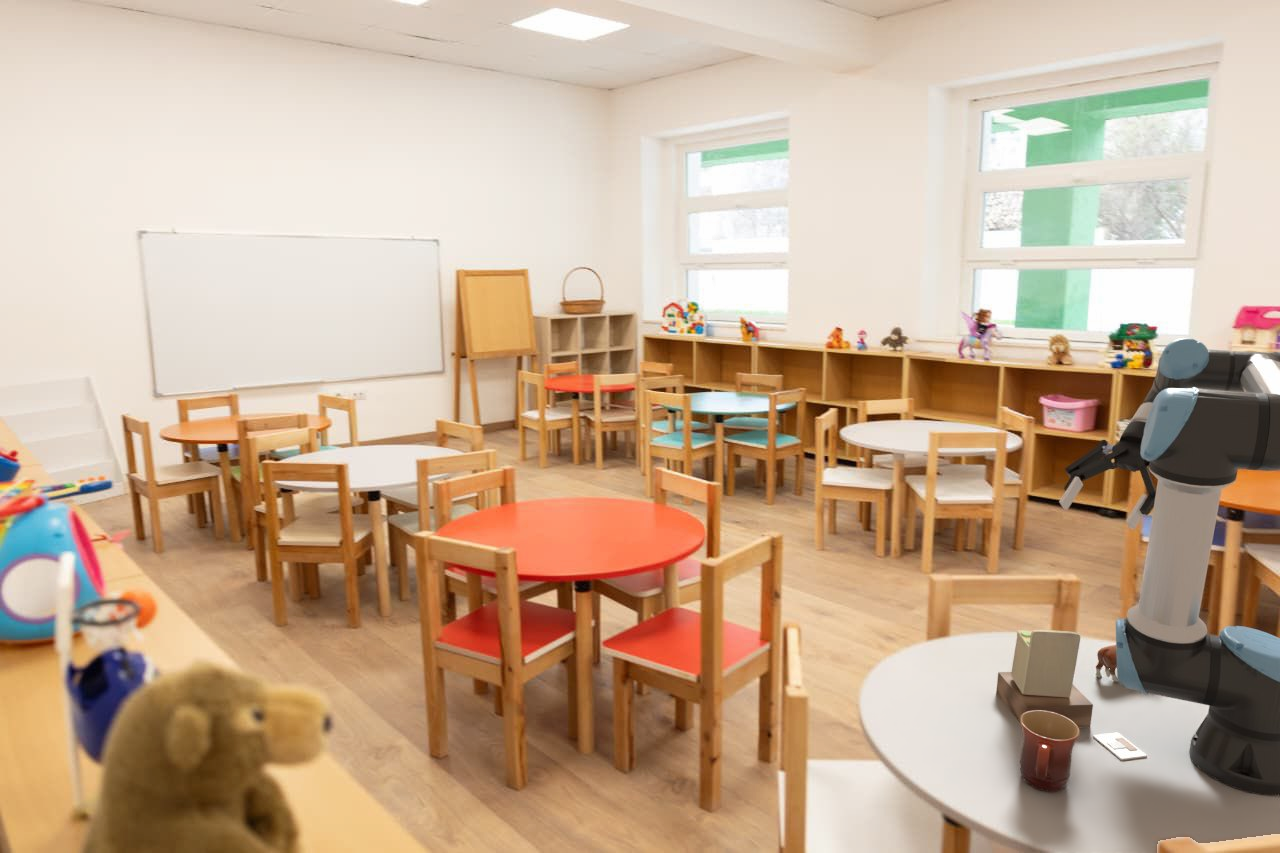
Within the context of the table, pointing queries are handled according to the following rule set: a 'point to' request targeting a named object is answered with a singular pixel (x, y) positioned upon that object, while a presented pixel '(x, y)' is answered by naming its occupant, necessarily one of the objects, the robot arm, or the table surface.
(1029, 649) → the toy sink
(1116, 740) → the card
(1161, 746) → the table surface
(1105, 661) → the bull figurine
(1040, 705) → the walnut block
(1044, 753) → the mug
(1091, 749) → the table surface
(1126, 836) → the table surface
